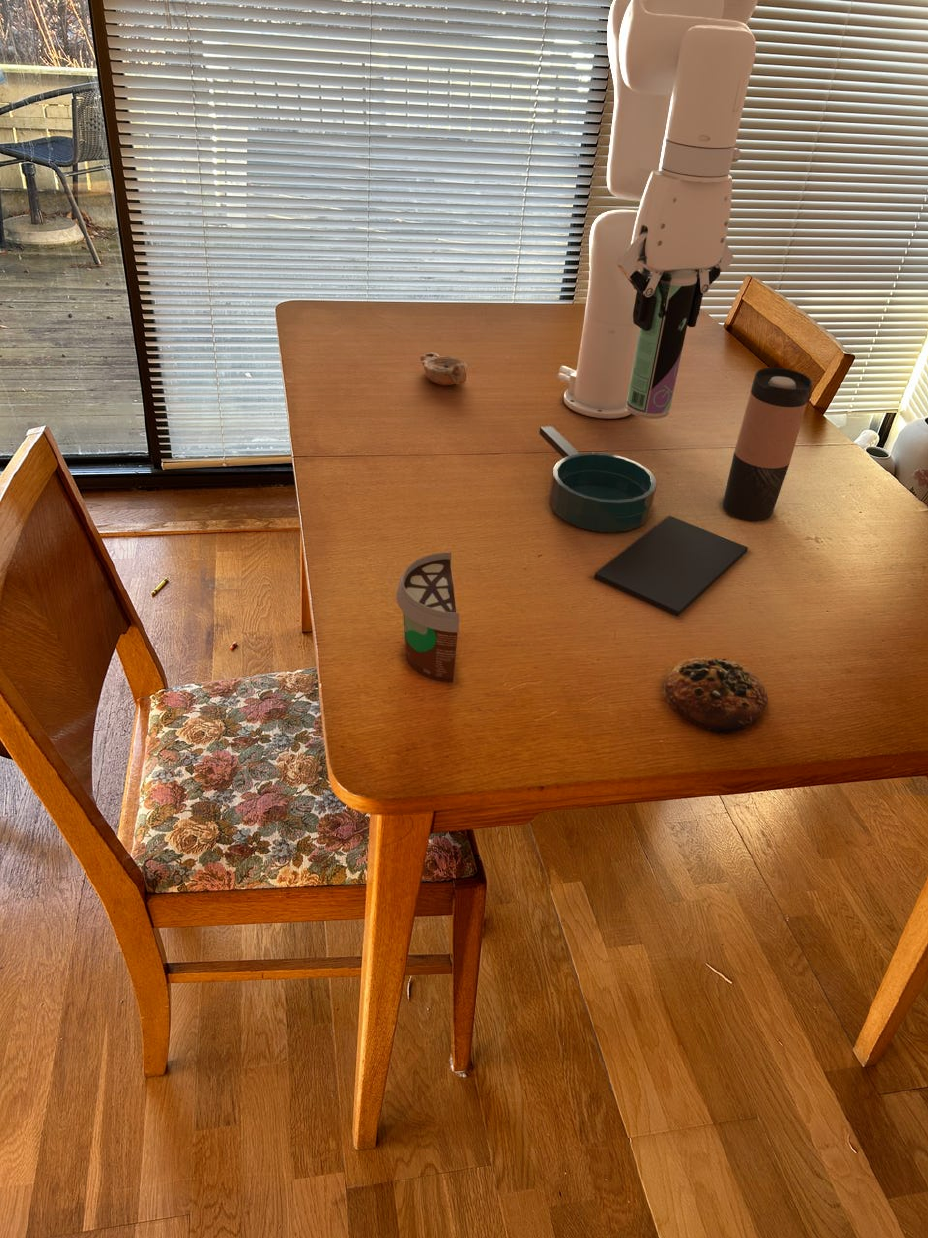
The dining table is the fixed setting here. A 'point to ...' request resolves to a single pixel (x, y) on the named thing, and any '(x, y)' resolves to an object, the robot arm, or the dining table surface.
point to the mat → (671, 565)
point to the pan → (602, 492)
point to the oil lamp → (444, 369)
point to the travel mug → (766, 442)
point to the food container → (430, 616)
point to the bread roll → (715, 694)
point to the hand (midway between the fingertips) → (664, 323)
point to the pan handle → (557, 441)
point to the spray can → (661, 346)
